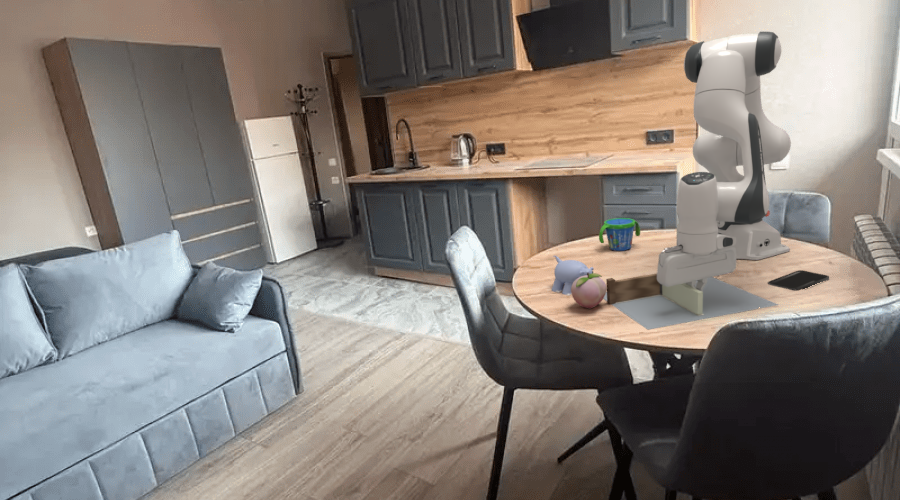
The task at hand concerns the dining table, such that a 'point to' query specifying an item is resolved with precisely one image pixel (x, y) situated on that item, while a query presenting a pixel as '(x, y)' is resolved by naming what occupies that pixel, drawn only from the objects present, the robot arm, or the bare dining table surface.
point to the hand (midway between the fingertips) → (696, 295)
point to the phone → (798, 280)
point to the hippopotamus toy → (568, 274)
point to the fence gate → (685, 296)
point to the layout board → (667, 312)
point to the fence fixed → (632, 288)
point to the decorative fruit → (588, 290)
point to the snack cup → (619, 233)
